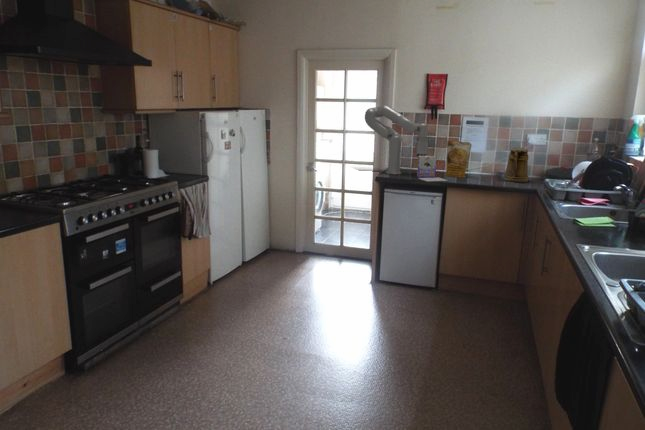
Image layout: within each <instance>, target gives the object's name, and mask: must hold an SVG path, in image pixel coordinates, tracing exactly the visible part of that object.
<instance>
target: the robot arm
mask: <svg viewBox="0 0 645 430" xmlns="http://www.w3.org/2000/svg"><path fill="white" fill-rule="evenodd" d="M383 117H385V118H386V119H388V120H389V121H391V122H393V123H394V124H395V125H397V126H399V127H400V128H402V129H404V130H405V131H406V132H409V133H410V134H415V133H417V135H416V136H417V137H416V138H415V145H414V156H416V157H418V156H428V153H429V142H428V141H427V140H428V127H429V126H428V124H427V123H416V122H413V121H410V120H409V119H407V118H406V117H405V116H404V115H403V114H402V113H400V112H398V111H397V110H396V109H394V108H392V107H391V106H390V105H388V104H384V105H380V106H376V107H370V108H368V109H367V110H366V111H365V114H364V121H365V123H366V125H367V126H368V127H369V128H370V129H371V130H373V131H374V132H375V133H377V134H378V135H379V136H380V137H381V138H383V139H385V140H387V141H388V158H387V159H388V160H387V161H388V162H387V170H386V171H385V174H387V175H401V174H402V171H400V170H401V169H400V168H401V154H402V141H403V136H402V135H401V134H400V133H398V131H396V130H394V129H393V128H392V127H391V126H389V125H385V124H384V123H382V122H381V121H380V120H378V119H377V118H383Z"/></svg>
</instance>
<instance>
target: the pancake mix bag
mask: <svg viewBox="0 0 645 430" xmlns="http://www.w3.org/2000/svg"><path fill="white" fill-rule="evenodd" d="M471 150H472V143H471V142H469V141H458V140H447V142H446V171H445V176H447V177H450V178H457V179H458V178H459V179H463V178H466V171H467V166H468V164H469V158H470V156H471V155H470V154H471Z"/></svg>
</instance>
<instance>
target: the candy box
mask: <svg viewBox="0 0 645 430" xmlns="http://www.w3.org/2000/svg"><path fill="white" fill-rule="evenodd" d="M436 175H437V156H436V155H425V156H417V174H416V177H417V178H437V177H436Z"/></svg>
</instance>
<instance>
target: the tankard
mask: <svg viewBox="0 0 645 430" xmlns="http://www.w3.org/2000/svg"><path fill="white" fill-rule="evenodd" d="M528 152H529V150H528V149H527V148H525V147H524V148H523V147H513V148H511V149H510V152H509V155H508V162H507V165H506V170H505V174H504V175H503V181H506V182H512V183H527V182H528V181H529V178H530V177H529V174H528V171H529V169H528V164H529V163H528V161H529V154H528Z"/></svg>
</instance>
